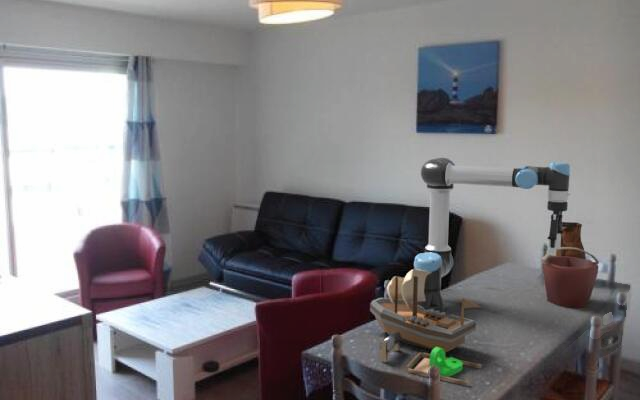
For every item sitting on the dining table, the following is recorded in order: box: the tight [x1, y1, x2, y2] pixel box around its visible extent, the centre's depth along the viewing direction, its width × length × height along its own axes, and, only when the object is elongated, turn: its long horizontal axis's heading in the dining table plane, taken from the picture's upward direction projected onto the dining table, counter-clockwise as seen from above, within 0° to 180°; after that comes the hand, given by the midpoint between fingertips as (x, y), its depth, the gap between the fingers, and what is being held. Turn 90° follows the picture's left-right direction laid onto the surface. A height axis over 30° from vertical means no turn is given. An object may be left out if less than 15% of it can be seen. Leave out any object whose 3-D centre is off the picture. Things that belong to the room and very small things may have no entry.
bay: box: [405, 351, 482, 387], centre depth 189 cm, size 21×15×2 cm
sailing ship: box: [369, 268, 481, 353], centre depth 210 cm, size 16×45×27 cm, turn 47°
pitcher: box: [550, 221, 587, 259], centre depth 291 cm, size 17×21×30 cm
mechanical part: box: [429, 347, 464, 378], centre depth 188 cm, size 12×6×8 cm, turn 131°
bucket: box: [540, 247, 600, 309], centre depth 259 cm, size 24×22×25 cm
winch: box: [379, 330, 402, 363], centre depth 200 cm, size 4×13×7 cm, turn 151°
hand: (554, 252), depth 236 cm, fingers open, 13 cm apart
